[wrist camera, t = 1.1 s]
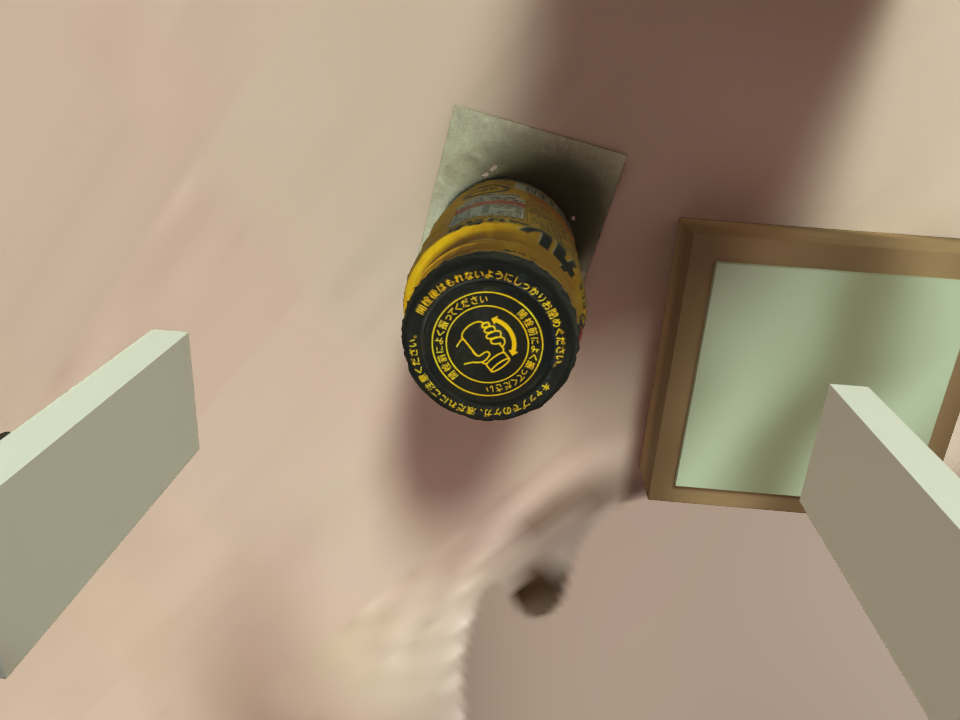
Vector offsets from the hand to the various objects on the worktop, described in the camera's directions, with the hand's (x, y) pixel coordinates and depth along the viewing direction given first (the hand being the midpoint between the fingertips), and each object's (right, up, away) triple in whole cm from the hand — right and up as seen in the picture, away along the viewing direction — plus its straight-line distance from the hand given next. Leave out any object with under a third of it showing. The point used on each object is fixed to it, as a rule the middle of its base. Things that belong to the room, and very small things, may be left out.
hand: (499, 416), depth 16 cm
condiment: (+1, +7, +17) cm, 18 cm away
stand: (+14, +1, +18) cm, 23 cm away
